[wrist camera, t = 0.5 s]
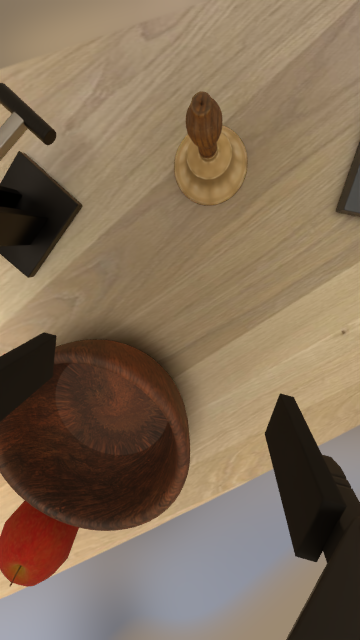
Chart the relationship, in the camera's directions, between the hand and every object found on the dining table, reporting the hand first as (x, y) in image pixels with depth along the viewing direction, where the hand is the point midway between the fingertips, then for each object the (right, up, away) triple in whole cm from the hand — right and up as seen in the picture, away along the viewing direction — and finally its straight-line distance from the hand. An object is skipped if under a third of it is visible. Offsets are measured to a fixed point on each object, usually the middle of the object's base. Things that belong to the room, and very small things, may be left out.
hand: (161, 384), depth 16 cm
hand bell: (+5, +21, +16) cm, 27 cm away
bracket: (-18, +17, +20) cm, 32 cm away
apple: (-19, -26, +33) cm, 46 cm away
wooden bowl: (-9, -9, +27) cm, 30 cm away
